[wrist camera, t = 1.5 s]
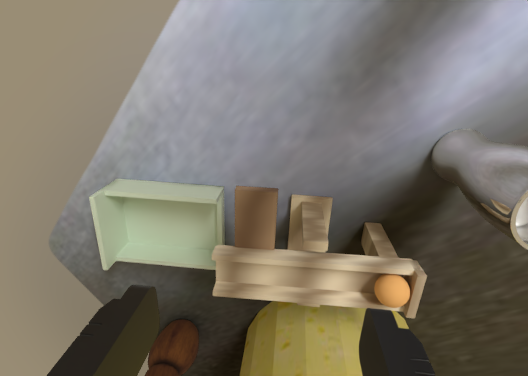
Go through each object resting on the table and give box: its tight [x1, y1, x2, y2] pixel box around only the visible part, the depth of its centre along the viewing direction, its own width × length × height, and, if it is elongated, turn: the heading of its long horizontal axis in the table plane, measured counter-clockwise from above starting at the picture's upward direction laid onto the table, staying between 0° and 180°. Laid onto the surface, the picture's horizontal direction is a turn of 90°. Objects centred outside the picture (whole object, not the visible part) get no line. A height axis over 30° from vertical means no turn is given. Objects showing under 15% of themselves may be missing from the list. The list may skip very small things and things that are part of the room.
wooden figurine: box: [145, 319, 199, 376], centre depth 43 cm, size 7×6×15 cm
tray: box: [89, 179, 225, 270], centre depth 39 cm, size 10×14×6 cm
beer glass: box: [431, 129, 528, 250], centre depth 28 cm, size 7×7×15 cm
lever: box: [212, 186, 427, 318], centre depth 30 cm, size 20×11×3 cm, turn 88°
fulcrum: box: [288, 194, 398, 307], centre depth 36 cm, size 12×9×10 cm
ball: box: [374, 273, 410, 308], centre depth 30 cm, size 3×3×3 cm
